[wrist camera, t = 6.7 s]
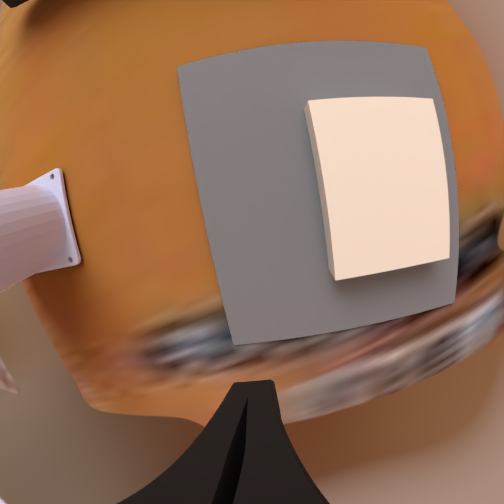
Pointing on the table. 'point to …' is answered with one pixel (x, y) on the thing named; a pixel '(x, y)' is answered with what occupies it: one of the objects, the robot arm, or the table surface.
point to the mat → (298, 186)
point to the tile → (379, 182)
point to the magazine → (14, 2)
